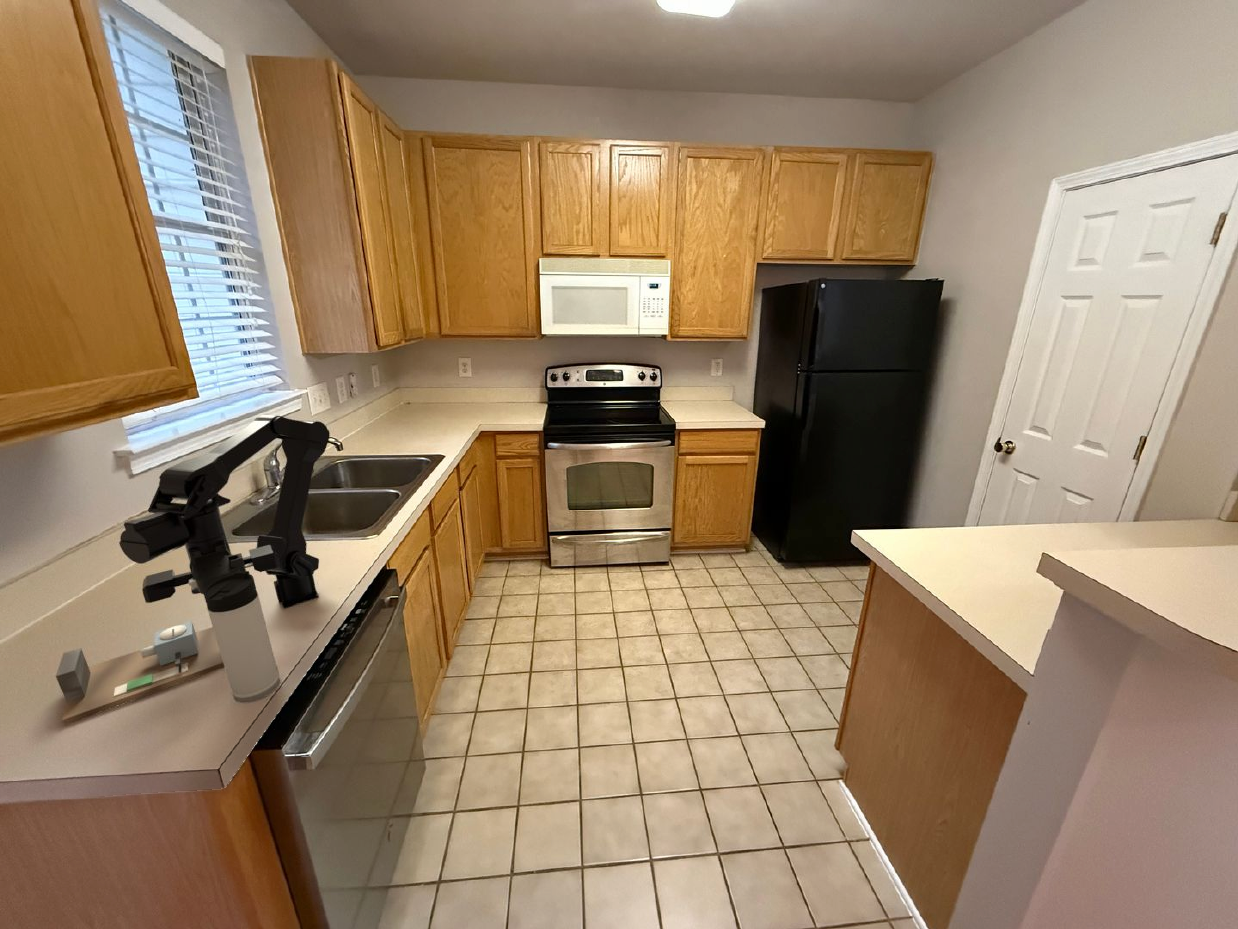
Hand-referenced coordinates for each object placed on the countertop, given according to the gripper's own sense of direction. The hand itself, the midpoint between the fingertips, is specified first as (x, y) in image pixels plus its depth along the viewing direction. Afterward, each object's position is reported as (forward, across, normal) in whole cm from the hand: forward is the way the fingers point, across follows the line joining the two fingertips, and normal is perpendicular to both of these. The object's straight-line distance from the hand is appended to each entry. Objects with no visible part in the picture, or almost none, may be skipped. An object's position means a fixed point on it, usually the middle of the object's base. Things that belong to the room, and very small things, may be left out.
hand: (226, 612), depth 91 cm
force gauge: (+5, -9, -2) cm, 10 cm away
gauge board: (+6, -10, -1) cm, 12 cm away
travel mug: (+6, +2, -18) cm, 19 cm away
